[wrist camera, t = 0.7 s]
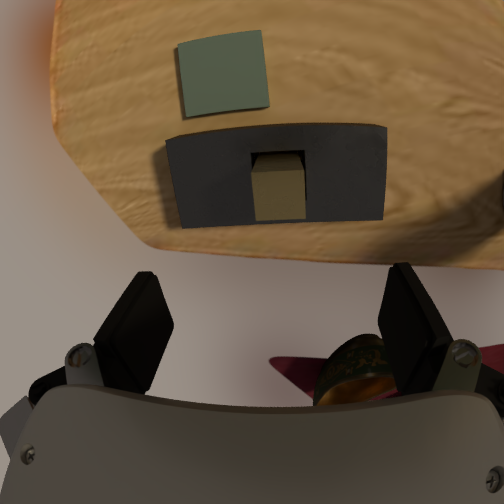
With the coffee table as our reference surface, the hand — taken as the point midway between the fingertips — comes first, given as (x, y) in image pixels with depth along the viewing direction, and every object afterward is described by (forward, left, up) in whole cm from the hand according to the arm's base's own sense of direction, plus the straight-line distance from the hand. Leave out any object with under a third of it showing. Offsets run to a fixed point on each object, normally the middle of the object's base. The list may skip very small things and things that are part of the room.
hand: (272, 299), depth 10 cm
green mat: (+5, -11, -22) cm, 25 cm away
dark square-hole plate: (0, 0, -22) cm, 22 cm away
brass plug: (0, 0, -22) cm, 22 cm away
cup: (-12, +33, -22) cm, 42 cm away
